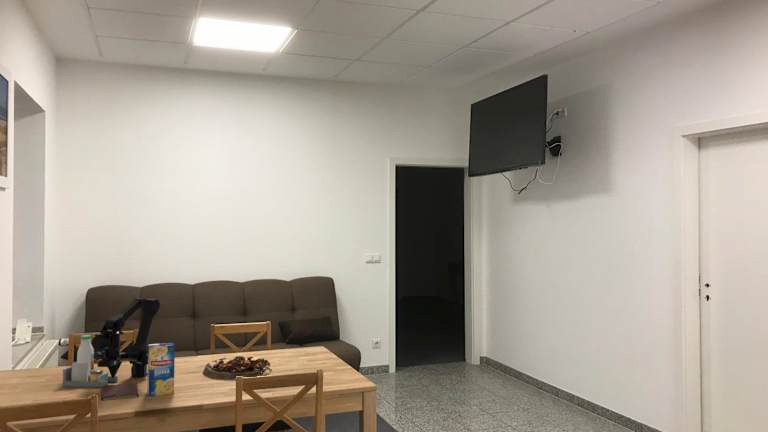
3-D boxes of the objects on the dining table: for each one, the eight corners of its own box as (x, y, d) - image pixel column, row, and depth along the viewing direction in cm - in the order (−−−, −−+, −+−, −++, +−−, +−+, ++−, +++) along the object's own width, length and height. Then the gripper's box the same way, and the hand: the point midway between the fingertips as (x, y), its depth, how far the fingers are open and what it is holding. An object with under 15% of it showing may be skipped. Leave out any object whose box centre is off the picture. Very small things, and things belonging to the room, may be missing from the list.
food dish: (256, 363, 336) (257, 349, 336) (280, 377, 308) (281, 362, 308) (193, 369, 316) (194, 354, 317) (213, 384, 289) (213, 368, 289)
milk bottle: (86, 377, 298) (87, 337, 298) (73, 376, 299) (73, 336, 299) (97, 373, 305) (97, 334, 305) (83, 372, 307) (84, 333, 307)
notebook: (136, 386, 284) (136, 382, 284) (138, 397, 266) (138, 393, 266) (101, 389, 278) (102, 385, 278) (101, 401, 260) (101, 396, 260)
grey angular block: (87, 384, 285) (87, 363, 286) (71, 385, 283) (71, 364, 283) (87, 382, 289) (88, 361, 289) (72, 383, 286) (72, 362, 287)
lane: (117, 381, 291) (117, 365, 291) (106, 387, 280) (107, 370, 280) (75, 380, 291) (75, 364, 291) (62, 386, 281) (63, 369, 281)
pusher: (108, 381, 290) (108, 372, 290) (99, 386, 282) (99, 376, 282) (106, 381, 290) (106, 372, 290) (97, 385, 282) (97, 376, 282)
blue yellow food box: (147, 392, 272) (147, 344, 272) (172, 389, 277) (172, 342, 277) (148, 396, 266) (149, 347, 266) (174, 393, 271) (174, 345, 271)
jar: (105, 382, 288) (105, 369, 289) (99, 385, 283) (99, 372, 283) (93, 382, 289) (93, 369, 289) (87, 385, 283) (87, 372, 283)
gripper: (106, 340, 295) (106, 372, 295) (86, 348, 277) (86, 382, 277) (128, 341, 295) (128, 372, 295) (109, 349, 276) (109, 382, 276)
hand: (113, 377), depth 286 cm, fingers closed
